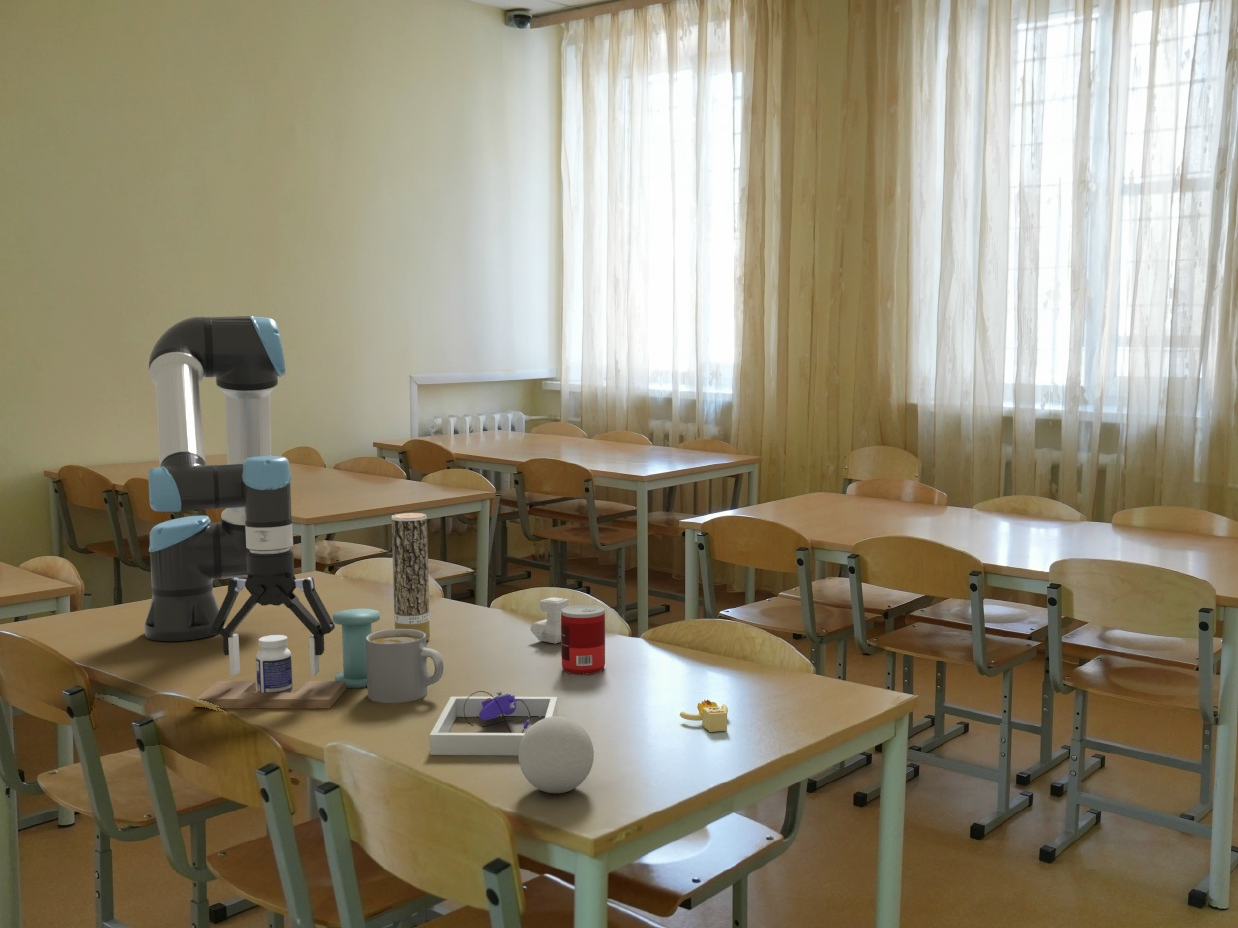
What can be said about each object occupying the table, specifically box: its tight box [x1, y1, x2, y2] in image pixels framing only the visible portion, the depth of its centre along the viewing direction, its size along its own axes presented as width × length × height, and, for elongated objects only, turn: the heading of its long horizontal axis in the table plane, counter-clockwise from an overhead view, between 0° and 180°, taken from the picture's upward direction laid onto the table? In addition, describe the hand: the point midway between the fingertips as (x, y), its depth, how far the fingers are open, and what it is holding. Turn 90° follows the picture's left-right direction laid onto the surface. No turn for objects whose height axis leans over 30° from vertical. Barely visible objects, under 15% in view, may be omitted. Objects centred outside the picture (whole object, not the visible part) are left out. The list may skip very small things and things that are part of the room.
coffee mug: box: [366, 628, 444, 704], centre depth 201 cm, size 13×10×10 cm
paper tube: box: [391, 512, 431, 642], centre depth 235 cm, size 7×7×25 cm
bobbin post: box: [332, 608, 381, 689], centre depth 209 cm, size 8×8×12 cm
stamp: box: [530, 596, 570, 644], centre depth 235 cm, size 9×7×8 cm
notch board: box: [195, 680, 346, 709], centre depth 200 cm, size 22×10×2 cm, turn 88°
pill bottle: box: [255, 634, 294, 693], centre depth 201 cm, size 6×6×10 cm
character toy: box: [679, 699, 729, 733], centre depth 185 cm, size 8×3×8 cm
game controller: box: [464, 690, 531, 733], centre depth 184 cm, size 10×8×10 cm
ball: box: [518, 715, 595, 795], centre depth 159 cm, size 10×10×10 cm
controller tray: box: [429, 696, 559, 756], centre depth 182 cm, size 17×18×3 cm
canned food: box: [560, 604, 606, 675], centre depth 216 cm, size 8×8×11 cm
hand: (275, 673), depth 202 cm, fingers open, 13 cm apart
